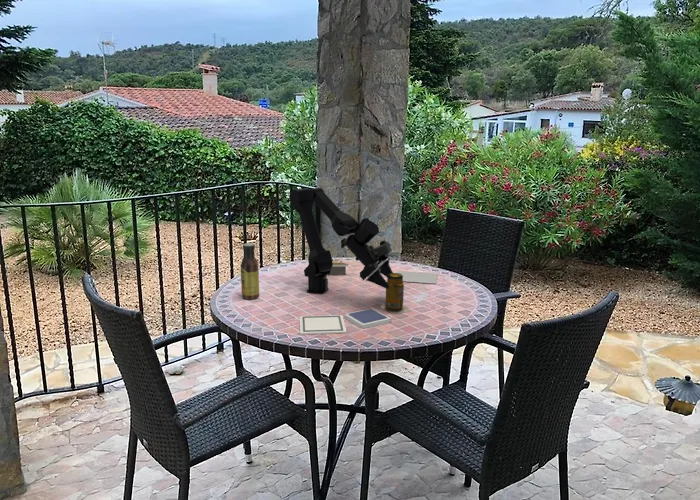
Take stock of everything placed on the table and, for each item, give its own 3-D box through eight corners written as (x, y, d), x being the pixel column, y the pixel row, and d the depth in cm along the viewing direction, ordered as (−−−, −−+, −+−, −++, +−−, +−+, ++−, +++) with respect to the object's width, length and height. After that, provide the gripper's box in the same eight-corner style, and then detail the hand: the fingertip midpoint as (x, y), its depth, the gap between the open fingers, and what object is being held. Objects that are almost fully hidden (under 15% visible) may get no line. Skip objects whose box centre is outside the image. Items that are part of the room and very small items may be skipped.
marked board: (299, 317, 179) (299, 315, 179) (342, 316, 181) (342, 314, 181) (300, 334, 166) (300, 332, 166) (346, 333, 167) (346, 331, 167)
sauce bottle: (242, 294, 201) (240, 241, 196) (260, 294, 202) (258, 241, 197) (240, 300, 195) (238, 246, 190) (258, 300, 195) (256, 246, 190)
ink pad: (344, 317, 180) (344, 313, 179) (372, 311, 185) (372, 307, 185) (362, 328, 171) (362, 324, 170) (391, 322, 176) (391, 317, 176)
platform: (314, 271, 232) (314, 256, 231) (356, 271, 233) (356, 256, 232) (313, 280, 221) (313, 264, 219) (358, 279, 222) (358, 264, 220)
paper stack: (434, 292, 206) (434, 291, 206) (368, 287, 211) (369, 286, 211) (437, 275, 229) (437, 273, 229) (378, 271, 233) (378, 269, 233)
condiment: (397, 303, 194) (398, 271, 191) (410, 311, 186) (411, 277, 183) (379, 306, 190) (380, 273, 187) (392, 314, 183) (393, 280, 180)
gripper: (369, 240, 175) (402, 276, 175) (384, 229, 193) (414, 262, 192) (346, 262, 180) (378, 297, 179) (362, 249, 197) (392, 281, 196)
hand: (391, 283), depth 186 cm, fingers open, 9 cm apart
